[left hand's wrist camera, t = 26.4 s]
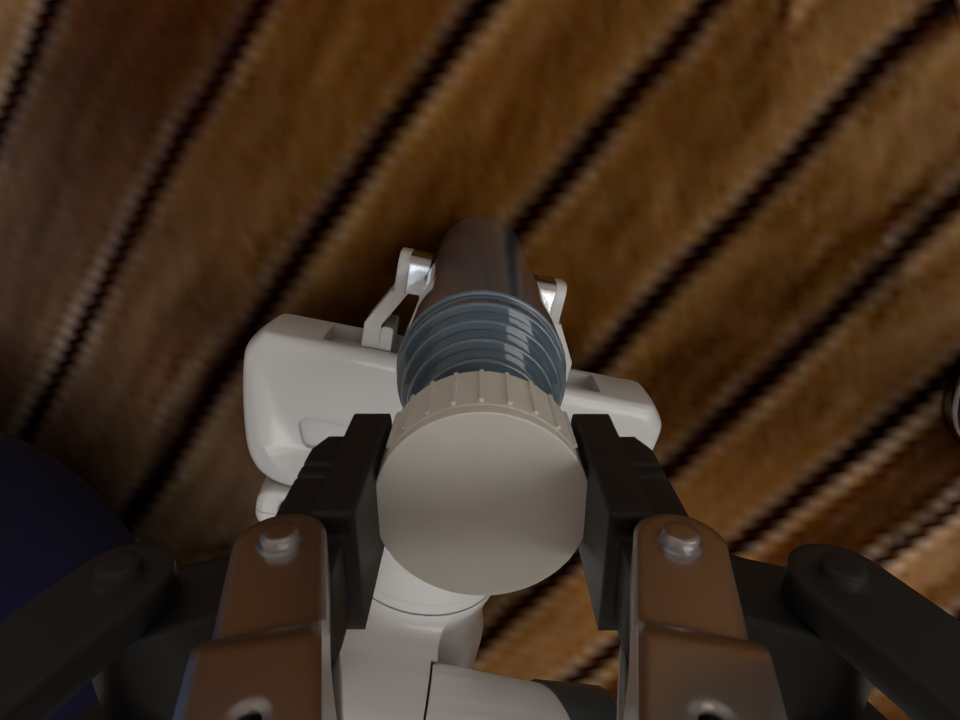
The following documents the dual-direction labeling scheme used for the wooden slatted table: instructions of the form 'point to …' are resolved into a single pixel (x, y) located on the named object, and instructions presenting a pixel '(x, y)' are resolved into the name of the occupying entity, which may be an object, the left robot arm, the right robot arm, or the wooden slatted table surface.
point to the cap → (481, 485)
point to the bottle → (480, 315)
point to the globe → (48, 532)
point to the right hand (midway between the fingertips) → (483, 265)
